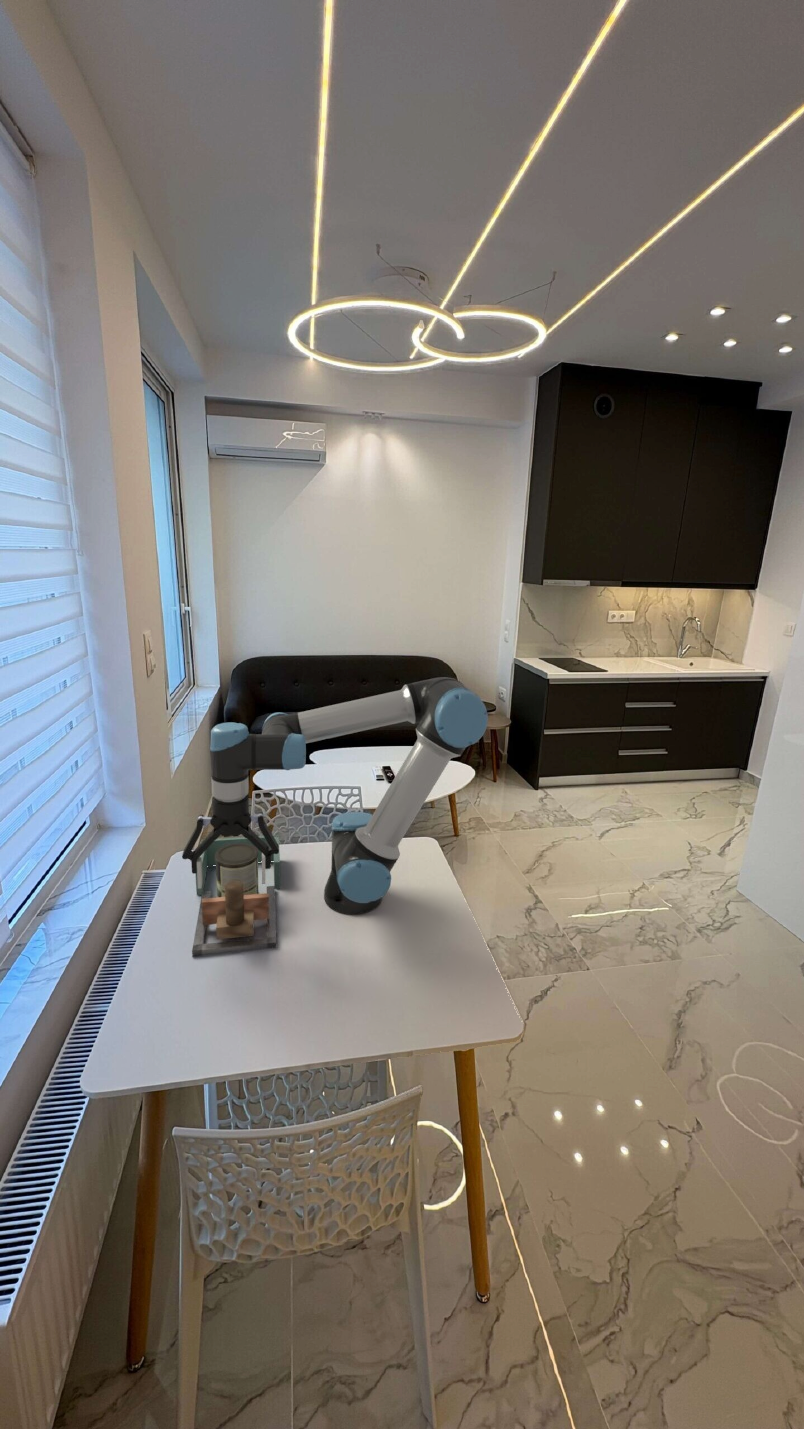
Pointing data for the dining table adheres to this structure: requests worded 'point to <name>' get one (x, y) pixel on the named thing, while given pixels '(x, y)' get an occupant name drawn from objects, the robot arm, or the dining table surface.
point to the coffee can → (237, 867)
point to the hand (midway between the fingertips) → (232, 883)
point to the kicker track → (235, 946)
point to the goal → (209, 853)
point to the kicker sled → (235, 911)
